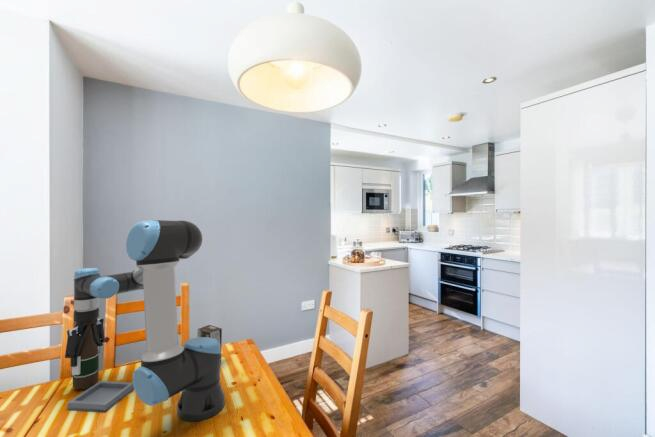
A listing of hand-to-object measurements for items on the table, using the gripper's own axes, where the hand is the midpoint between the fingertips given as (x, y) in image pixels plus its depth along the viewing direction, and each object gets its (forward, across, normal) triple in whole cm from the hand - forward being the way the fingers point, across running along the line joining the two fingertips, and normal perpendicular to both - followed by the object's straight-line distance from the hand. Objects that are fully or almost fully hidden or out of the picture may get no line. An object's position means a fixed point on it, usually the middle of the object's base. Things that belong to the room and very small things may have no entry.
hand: (85, 368), depth 115 cm
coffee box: (+7, -21, +39) cm, 45 cm away
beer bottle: (+6, 0, 0) cm, 6 cm away
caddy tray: (+7, +7, +13) cm, 16 cm away
